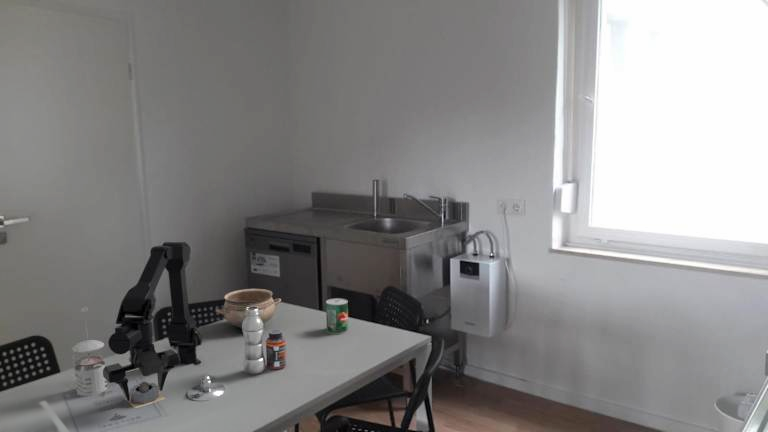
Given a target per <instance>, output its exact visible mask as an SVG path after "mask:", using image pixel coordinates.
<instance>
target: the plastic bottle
mask: <svg viewBox="0 0 768 432" xmlns="http://www.w3.org/2000/svg"><path fill="white" fill-rule="evenodd" d="M258 314H259V312H258V307H248V308H246V315H247V317H246V318H245V320H244V321H243V324H242V335H243V341H244V359H243V368H244V370H245V372H246V373H247V374H249V375H255V374H256V375H257V374H259V373H260V374H261V373H262V372H264V370H265V368H266V359H265V354H264V347H263V337H264V336H263V335H264V324H263V322H262V320H261V319H260V317H259V316H258Z"/></svg>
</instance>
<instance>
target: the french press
mask: <svg viewBox="0 0 768 432" xmlns="http://www.w3.org/2000/svg"><path fill="white" fill-rule="evenodd" d="M89 311H90V310H89V307H87V306H86V307H82V308H81V309H80V312H81V313H84V319H85V321H84V323H85V329H86V331H85V332H86V340H83V341H81V342H78V343H76V344H75V345H74V346H72V347H71V350H72V351H73V354H72V363H73V367H74V373H75V374H74V377H75V386H76V387H75V388H76V394H77V395H78V396H82V397H88V396H89V397H90V396H95V395H98V394H101V393H103V392H105V391H106V390H107V389H108V381H107V380H106V379H105V378H104V377H103V369H104V368H105V366H106V362H105V361H104V356H101V355H96V354H95V355H90V353H92V352H96V351H99V350H101V349H103V348H104V346H105V343H104V342H103V341H100V340H95V339H89V335H88V326H87V325H88V323H87V314H86V313H88V312H89ZM75 353H76V354H77V355H78V359H76V361H75V359H74V358H75ZM86 353H87V354H88V355H87V356H83V357H80V355H81V354H86ZM96 365H97V366H96ZM83 379H84V380H83Z"/></svg>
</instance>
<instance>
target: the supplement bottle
mask: <svg viewBox="0 0 768 432" xmlns="http://www.w3.org/2000/svg"><path fill="white" fill-rule="evenodd" d="M265 346H266V348H265V349H266V350H265V351H266V353H265V355H266V367H267V369H270V370H276V371H277V370H282V369H284V368H285V367H286V366H287V353H286V350H287V348H286V338H285V337H284V336H283V331H282V330H281V329H272V330H269V331H268V337H267V338H266V340H265Z"/></svg>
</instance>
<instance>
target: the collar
mask: <svg viewBox="0 0 768 432" xmlns="http://www.w3.org/2000/svg"><path fill="white" fill-rule="evenodd" d="M147 383H148V384H149V390H147V391H144V392H140V391H139V385H140V384H141V383H139V384H137V385H134V386H133V387H132V388H130V389H129V395H130V399H131V402H133V403H134V404H147V403H150V402H153V401H155V400H156V399H157V398H158V397H159V394H160V393H159V392H160V390H159V386H158V384H156V383H155V382H147Z"/></svg>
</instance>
